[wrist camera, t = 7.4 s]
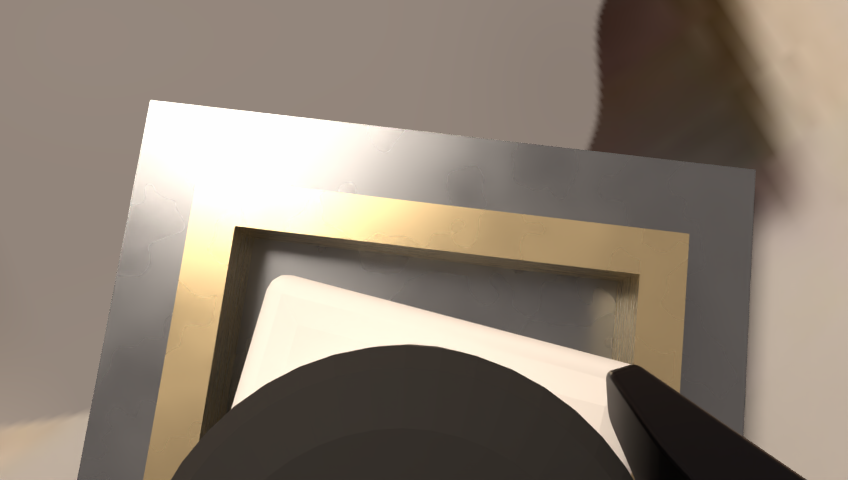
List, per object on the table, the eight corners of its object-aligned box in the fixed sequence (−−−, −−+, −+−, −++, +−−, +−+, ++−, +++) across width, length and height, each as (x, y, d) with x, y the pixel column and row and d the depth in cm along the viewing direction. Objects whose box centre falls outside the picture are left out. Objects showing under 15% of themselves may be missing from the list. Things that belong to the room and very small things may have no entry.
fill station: (739, 178, 21) (792, 150, 18) (706, 831, 18) (762, 928, 15) (163, 111, 21) (120, 73, 18) (44, 740, 18) (-30, 817, 15)
